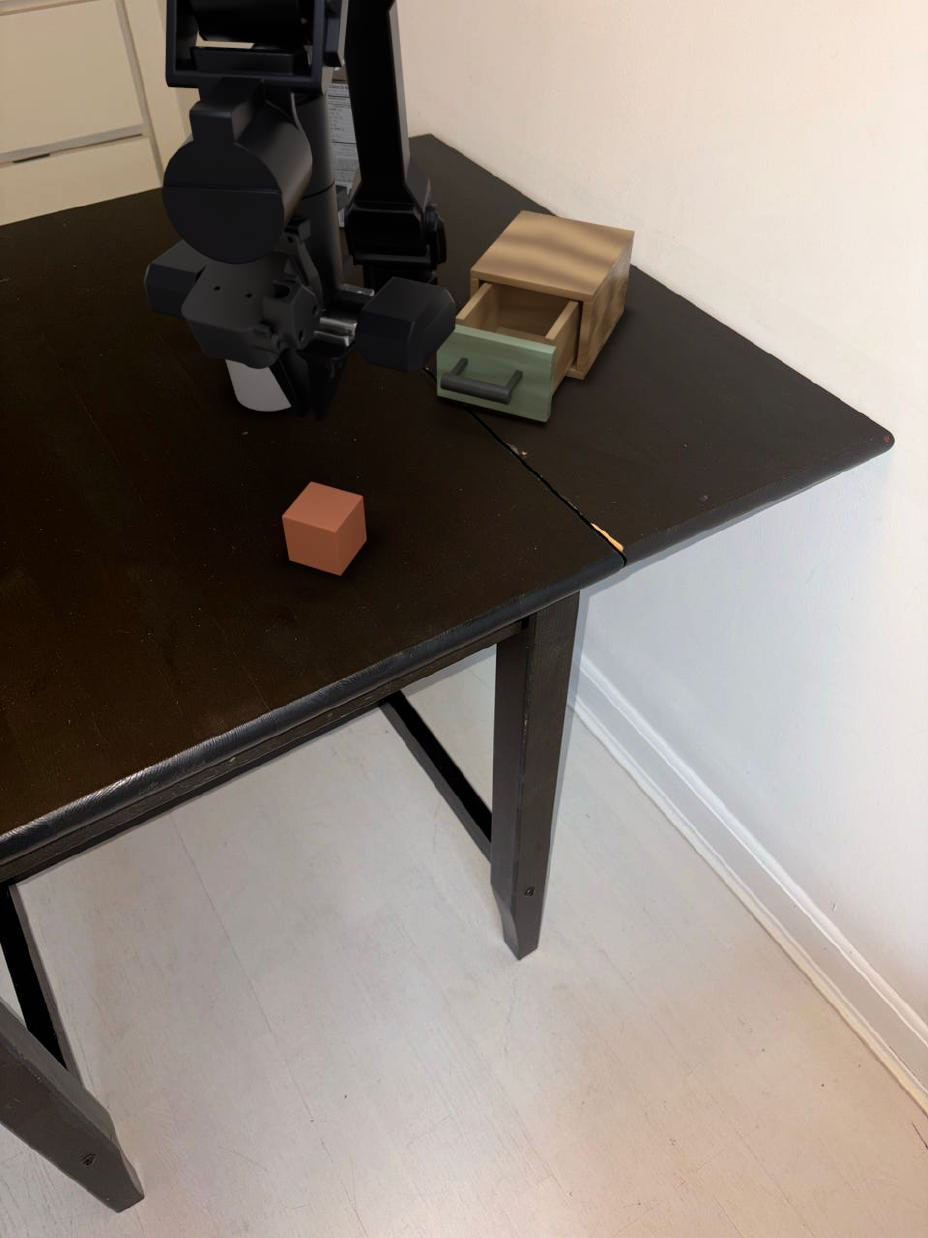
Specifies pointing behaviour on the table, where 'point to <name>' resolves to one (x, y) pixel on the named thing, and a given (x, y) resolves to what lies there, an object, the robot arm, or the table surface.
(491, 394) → the drawer
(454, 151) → the table surface
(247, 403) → the coffee cup
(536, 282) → the cabinet
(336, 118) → the coffee box
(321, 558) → the block
